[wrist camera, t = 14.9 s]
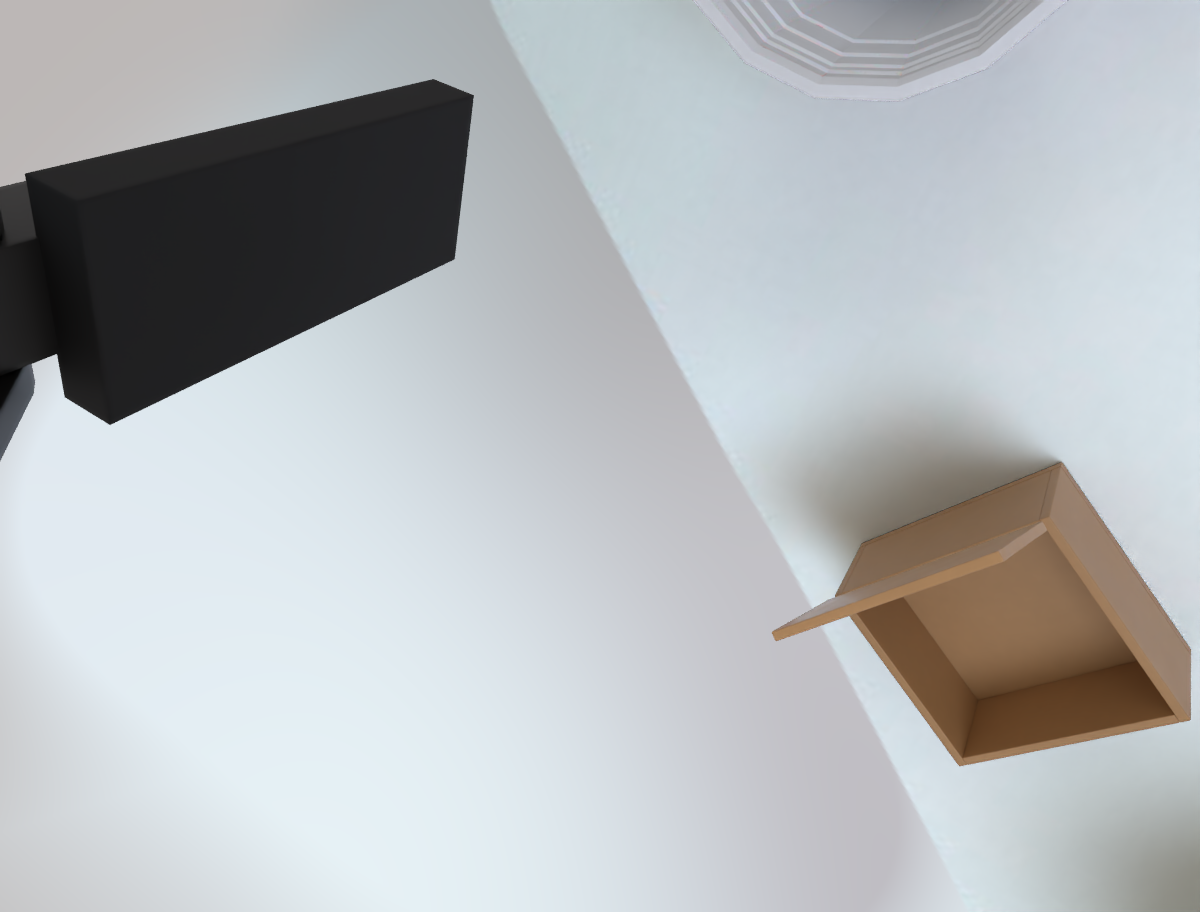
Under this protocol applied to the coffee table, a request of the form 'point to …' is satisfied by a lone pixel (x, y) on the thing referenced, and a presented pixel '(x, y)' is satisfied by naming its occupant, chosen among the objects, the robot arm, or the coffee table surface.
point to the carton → (1025, 627)
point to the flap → (914, 580)
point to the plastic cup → (873, 41)
